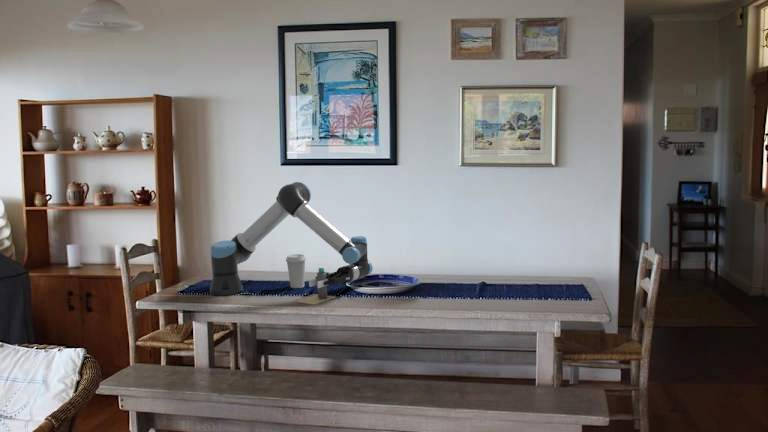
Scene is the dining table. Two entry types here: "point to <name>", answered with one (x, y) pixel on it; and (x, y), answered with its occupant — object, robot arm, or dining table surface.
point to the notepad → (313, 299)
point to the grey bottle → (323, 290)
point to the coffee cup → (296, 270)
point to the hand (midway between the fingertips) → (313, 284)
